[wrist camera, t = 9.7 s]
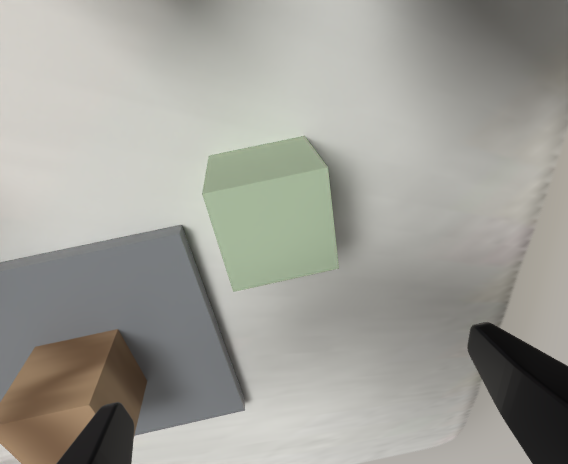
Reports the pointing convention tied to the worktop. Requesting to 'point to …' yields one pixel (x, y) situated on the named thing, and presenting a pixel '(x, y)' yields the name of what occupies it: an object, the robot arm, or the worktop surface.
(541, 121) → the worktop surface
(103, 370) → the brown wooden cube
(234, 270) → the sage brick
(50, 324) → the baseplate
